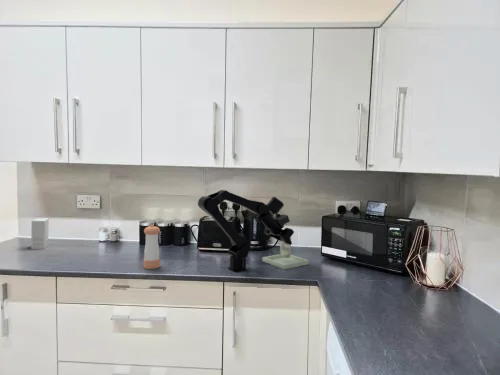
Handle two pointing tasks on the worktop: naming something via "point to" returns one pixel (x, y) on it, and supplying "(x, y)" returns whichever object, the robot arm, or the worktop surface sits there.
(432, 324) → the worktop surface
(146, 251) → the pepper shaker
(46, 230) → the skincare box
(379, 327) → the worktop surface
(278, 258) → the tray
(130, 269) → the worktop surface
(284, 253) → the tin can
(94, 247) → the worktop surface
